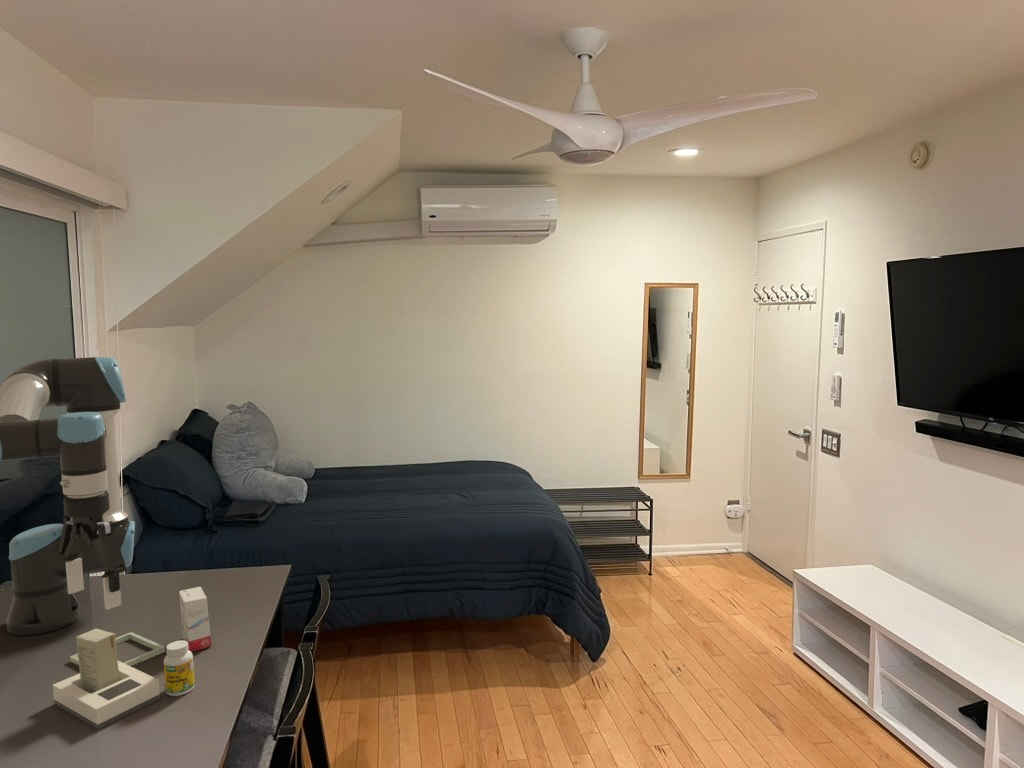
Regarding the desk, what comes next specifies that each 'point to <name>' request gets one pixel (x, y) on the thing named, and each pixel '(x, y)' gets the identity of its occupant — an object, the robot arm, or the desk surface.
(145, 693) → the block
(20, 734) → the desk surface
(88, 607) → the desk surface
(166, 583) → the desk surface
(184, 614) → the ink box
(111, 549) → the robot arm
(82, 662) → the skincare box
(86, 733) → the desk surface
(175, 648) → the supplement bottle
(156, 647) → the tray rim
